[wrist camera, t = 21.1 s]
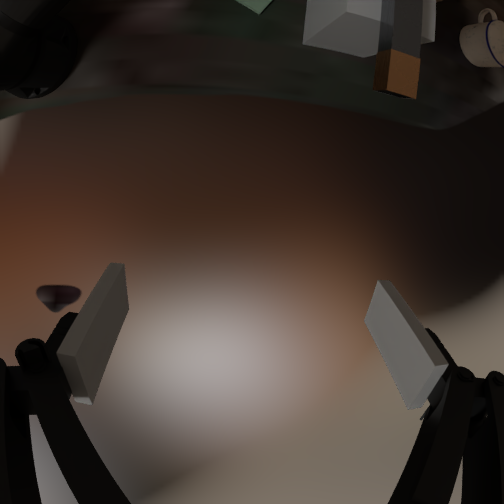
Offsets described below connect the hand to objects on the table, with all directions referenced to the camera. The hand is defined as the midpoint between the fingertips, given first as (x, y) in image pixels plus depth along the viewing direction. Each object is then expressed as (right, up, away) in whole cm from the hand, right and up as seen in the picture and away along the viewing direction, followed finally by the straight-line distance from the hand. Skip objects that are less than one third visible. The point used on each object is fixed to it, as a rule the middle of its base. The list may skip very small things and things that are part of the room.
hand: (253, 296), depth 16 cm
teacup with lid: (+41, +42, +23) cm, 64 cm away
